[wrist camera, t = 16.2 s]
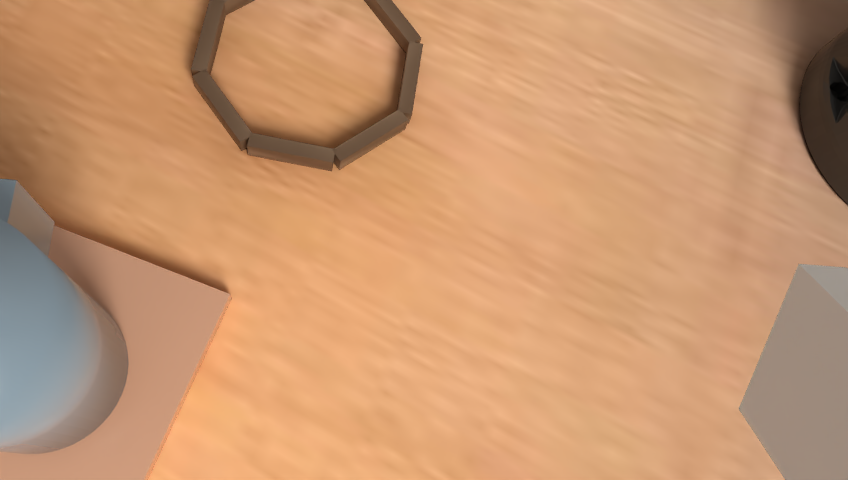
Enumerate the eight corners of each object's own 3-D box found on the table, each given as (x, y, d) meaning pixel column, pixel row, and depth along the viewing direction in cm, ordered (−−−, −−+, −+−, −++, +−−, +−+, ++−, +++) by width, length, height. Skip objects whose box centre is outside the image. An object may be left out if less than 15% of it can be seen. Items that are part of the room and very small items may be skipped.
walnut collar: (456, 97, 44) (460, 87, 43) (281, 205, 41) (280, 197, 40) (336, -55, 46) (337, -69, 45) (157, 35, 42) (154, 23, 41)
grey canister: (115, 457, 35) (31, 447, 23) (-65, 450, 34) (-243, 436, 22) (145, 253, 38) (85, 156, 26) (-18, 240, 37) (-155, 134, 25)
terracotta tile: (231, 298, 39) (230, 294, 38) (111, 557, 34) (106, 560, 33) (-11, 203, 38) (-19, 196, 37) (-166, 455, 34) (-179, 455, 33)
